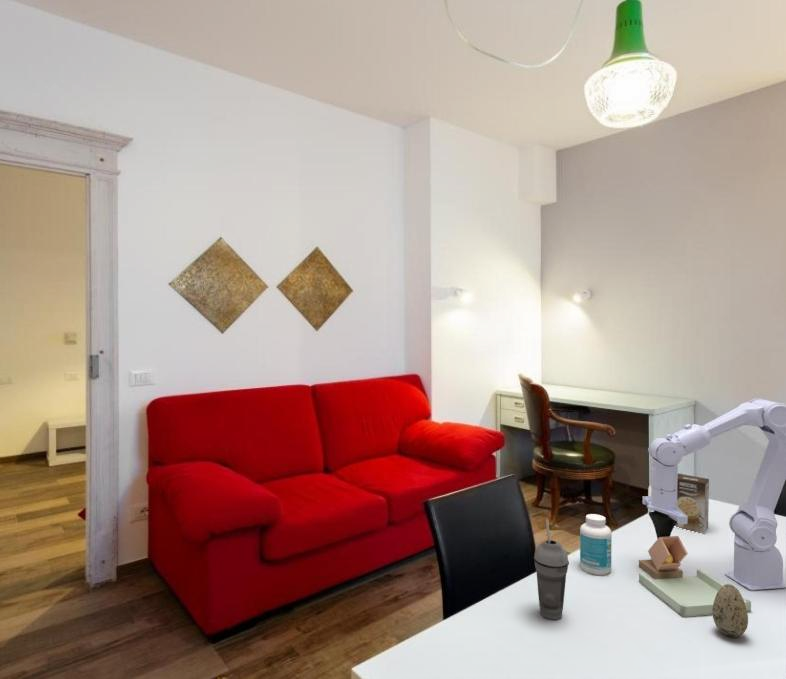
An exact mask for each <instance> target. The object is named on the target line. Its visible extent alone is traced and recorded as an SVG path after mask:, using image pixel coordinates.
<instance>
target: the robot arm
mask: <svg viewBox="0 0 786 679" xmlns="http://www.w3.org/2000/svg"><path fill="white" fill-rule="evenodd" d="M742 426H750V427H758V428H759V429H760V430H761V431H762V433H763V434H764V435H765V438H766V439H767V440H768V443H767V446H766V448H765V451H764V455H763V457H762V459H761V461H760V462H761V463H760V465H759V467H758V470H757V473H756V476H755V479H754V481H753V485H752V487H751V490H750V492H749V495H748V498H747V500H746V501H745V502H743V503H740V504H739V507H738V508H737V510H736V511H735V513H733V514H732V515H731V517H730V518H729V521H728V524H729V525H728V526H729V528H730V531H731V532H732V533H733V534H734V540H733V572H731V571H730V572H725V573H724V575H725V576H726V577H727V578H729V579H731V580H733V581H735V582H736V583H738V584H740V585H741V586H743V587H744V588H746V589H748V590H750V591H757V590H758V591H759V590H771V589H772V590H773V589H785V588H786V584H784V583H783V580H784V579H783V578H784V577H783V576H784V575H783V574H784V569H783V568H784V559H783V556H782V554H781V552H780V549H778V548H777V547H776V546H775V545H776V543H777V539H778V538H777V527H778V524H779V523H778V521H777V518H776V515H775V509H776V506H777V504H778V501H779V499H780V495H781V493H782V491H783V487H784V485H785V482H786V403H783V402H775V401H772V400H768V399H765V398H760V397H758V398H754V399H753V398H752V399H751V400H750V401H746V402H743V403H741V404H740V405H739V406H736V407H735V408H733V409H731V410H730V411H728V412H725V413H724V414H722V415H720V416H719V417H716V418H714V419H713V420H711V421H709V422H707V423H705V424H704V425H700V424H696V423H693V424H692V425H691V424H690V423H688V424H685V425H683V427H684V428H682V429H680V430H678V431H676V432H674V433H672V434H670V433H668V434H666V435H665V436H666V437H657V438H655V439H654V440H652V441H651V443H650V445H649V447H648V448H647V449H648V454H649V455H650V457H651V478H650V479H651V480H650V481H651V486H650V490H651V491H650V496H649V495H648V496H646V495H645V496H642V505H645V506H646V508H647V509H648V510H651V511H649V512H648V516H649V517H650V521H651V522H652V524H653V527H654V529H655V534H656V538H657V539H658V538H659V537H670V536H671V535H672V532H673V530H674V528H675V527H674V526H675V525H676V523H678V524H687V521H688V516H687V515H685V514H684V513H683V512H682V511H681V510H680V509H679V508H678V507H677V483H678V474H679V472H678V470H679V468H678V465H679V464H680V463H681V462H682V459H683V458H684V457H686V456H687V455H690V454H692V453H694V452H697V451H699V450H701V449H704V448H706V447H708V446H709V445H710V442H711V440H712V438H715V437H717V436H720V435H722V434H725V433H728V432H730V431H732V430H735V429H737V428H740V427H742ZM657 539H656V540H657Z"/></svg>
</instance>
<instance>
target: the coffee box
mask: <svg viewBox="0 0 786 679" xmlns="http://www.w3.org/2000/svg"><path fill="white" fill-rule="evenodd" d="M709 496H710V479H709V478H705V477H701V476H700V477H699V476H695V475H688V474H683V473H678V483H677V507H678V508H679V509H680V510H681V511H682V512H683V513H684V514H685V515H687V516H688V521H687V524H678V523H676V525H675V526H676V527H679V528H682V529H681V530H683V529H686V530H685V531H687V530H690V531H689V532H692V531H694V532H693V533H696V532H698V533H697V534H700V533H702V534H701V535H705V534H706V533H705V532H708V530H707V529H709V506H710V505H709V504H710V502H709V500H710V497H709ZM679 528H678V529H679Z"/></svg>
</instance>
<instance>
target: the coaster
mask: <svg viewBox="0 0 786 679" xmlns="http://www.w3.org/2000/svg"><path fill="white" fill-rule="evenodd" d="M638 567H639V569H641V570H642V571H643V572H645V573H646V574H647V575H648V576H649V577H651V578H652V580H654V579H669V578H684V571H683V570H682V569H680V568H679V567H678V568H677V569H675V570H660V571H657V569H656V567H655V565H654V563H653V561H652V559H651V558H649V559H639V560H638Z"/></svg>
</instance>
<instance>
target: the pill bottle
mask: <svg viewBox="0 0 786 679" xmlns="http://www.w3.org/2000/svg"><path fill="white" fill-rule="evenodd" d="M606 523H607V519H606V517H605V516H603V515H601V514H597V513H589V514H586V516H585V523H583V524H581V525H580V528H579V530H580V531H579V562H580V563H579V566H580V568H581V569H582V570H583V571H584V572H585V573H587V574H590V575H595V576H607V575H609V574H610V573H611V572H612V530H611V528H610V527H609V526H608V525H606Z"/></svg>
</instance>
